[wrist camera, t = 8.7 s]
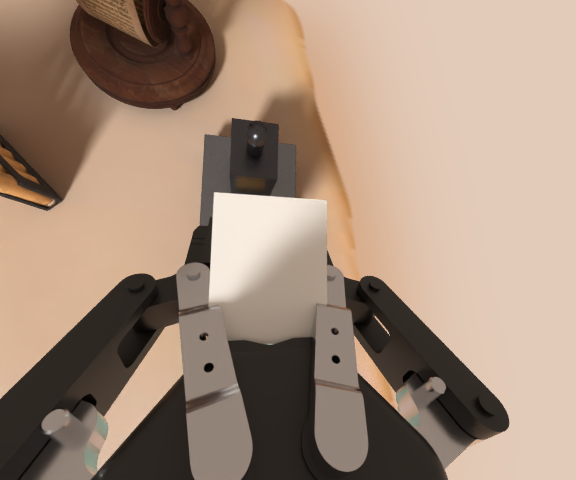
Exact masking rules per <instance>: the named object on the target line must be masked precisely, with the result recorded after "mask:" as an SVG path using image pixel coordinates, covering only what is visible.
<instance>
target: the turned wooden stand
mask: <svg viewBox="0 0 576 480" xmlns="http://www.w3.org/2000/svg"><path fill="white" fill-rule="evenodd" d="M76 1H77V2H78V3H79V6H78V7H77V9H76V11H75V12H74V15H73V17H72V21H71V26H70V41H71V46H72V50H73V52H74V55H75V57H76V59H77V61H78V63H79V64H80V66H81V67H82V69H83V70H84V71H85V73H86V74H87V75H88V77H89V78H90V79H91V80H92V81H93V82H94V84H95V85H96V86H98V87H99V88H100V89H101V90H102V91H104V92H105V93H106V94H108V95H109V96H111V97H113V98H115V99H117V100H119V101H121V102H123V103H126V104H129V105H132V106H136V107H140V108H148V109H162V108H169V107H170V108H171V109H173V110H177V108H178V105H181V104H183V103H185V102H187V101H189V100H191V99H193V98H194V97H195V96H197V95H198V94H199V93H200V92H201V91H202V90H203V89H204V88H205V87H206V85H207V84H208V82H209V81H210V79H211V77H212V74H213V71H214V67H215V46H214V40H213V36H212V33H211V30H210V28H209V26H208V24H207V22H206V20H205V19H204V17H203V16H202V15H201V13H200V12H199V11H198V10H197V9H196V7H194V6H193V5H192V4H191V3H190V2H189V1H188V0H76Z"/></svg>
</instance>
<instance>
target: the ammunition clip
mask: <svg viewBox="0 0 576 480" xmlns="http://www.w3.org/2000/svg"><path fill="white" fill-rule="evenodd" d="M0 195H1V196H2V197H5V198H8V199H12V200H15V201H18V202H21V203H24V204H27V205H30V206H34V207H37V208H40V209H43V210H46V211H48V210H50V209H51V208H53V207H54V206H55V205H57V204H58V203H60V202H61V201H62V198H61V197H60V196H59V195H58V194H57V193H56V192H55V191H54V190H53V189H52V188H51V187H50V186H49V185H48V184H47V183H46V182H45V181H44V180H43V179H42V178H41V177H40V176H39V174H38V173H37V172H36V171H35V170H34V169H33V168H32V167H31V166H30V165H29V164H28V163H27V162H26V161H25V160H24V159H23V158H22V157H21V156H20V155H19V154H18V153H17V152H16V151H15V150H14V149H13V147H12V146H11V145H10V144H9V143H8V142H7V141H6V140H5V139H4V138H3V137H2V136H1V135H0Z"/></svg>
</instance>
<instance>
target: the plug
mask: <svg viewBox="0 0 576 480" xmlns="http://www.w3.org/2000/svg"><path fill="white" fill-rule="evenodd" d="M317 303H320V304H327V200H316V199H302V198H288V197H274V196H260V195H246V194H232V193H218V192H214V203H213V223H212V243H211V264H210V284H209V305H208V306H213V305H219V306H220V310H221V314H222V319H223V323H224V327H225V332H226V336H227V340H228V341H234V340H247V341H252V342H257V343H262V344H276V343H279V342H282V341H285V340H288V339H292V338H302V337H313V330H312V327H313V322H314V316H315V310H316V304H317Z"/></svg>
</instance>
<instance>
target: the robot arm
mask: <svg viewBox="0 0 576 480" xmlns="http://www.w3.org/2000/svg"><path fill="white" fill-rule="evenodd" d="M212 223H213V217H210V219H209V224H208V226H198V227H197V228H196V229H195V230H194V232H193V236H192V239H191V243H190V247H189V250H188V254H187V258H186V261H185V265H184V266H182V267H181V268H180V269H179V270H178V271H177V274H175V275H173V276H171V277H167V278H163V279H159V280H155V279H154V278H153V277H152V276H151V275H148V274H134V275H131V276H128V277H126V278H125V279H123V280H122V281H121V282H120V283H119V284H118V285H117V286H116V287H115V288H114V289H112V290H111V291H110V292H109V293H108V294H107V295H106V296H105V297H104V298H103V299H102V300H101V301H100V302H99V303H98V304H97V305H96V306H95V307H94V308H93V309H92V310H91V311H90V312H89V313H88V314H87V315H86V316H85V317H84V318H83V319H82V320H81V321H80V322H79V323H78V324H77V325H76V326H75V327H74V328H73V329H72V330H71V331H69V332H68V333H67V334H66V335H65V336H64V337H63V338H62V339H61V340H60V341H59V342H58V343H57V344H56V345H55V346H54V347H53V348H52V349H51V350H50V351H49V352H48V353H47V354H46V355H45V356H44V357H43V358H42V359H41V360H40V361H39V362H38V363H37V364H36V365H35V366H34V367H33V368H32V369H31V370H30V371H29V372H28V373H26V374H25V375H24V376H23V377H22V378H21V379H20V380H19V381H18V382H17V383H16V384H15V385H14V386H13V387H12V388H11V389H10V390H9V391H8V392H7V393H6V394H5V395H4V396H3V397H2V398H1V399H0V480H448V478H447V475H446V472H445V470H444V469H445V468H446V467H447V466H448V465H449V464H450V463H451V462H453V461H454V460H455V459H456V458H457V457H458V456H459V455H460V454H461V453H462V452H463V451H464V450H465V449H466V448H467V447H470V446H472V445H474V444H476V443H479V442H481V441H483V440H485V439H488V438H490V437H492V436H494V435H497V434H499V433H501V432H503V431H505V430H506V429H507V428H508V427H509V418H508V414H507V412H506V410H505V408H504V407H503V405H502V404H501V402H500V401H499V400H498V399H497V398H496V397H495V396H494V394H492V392H490V390H489V389H488V388H486V386H485V385H484V384H483V383H482V382H481V381H480V380H479V379H478V378H477V377H476V376H475V375H474V374H473V373H472V372H471V371H470V370H469V369H468V368H467V367H466V366H465V365H464V364H463V363H462V362H461V361H460V360H459V359H458V358H457V357H456V356H455V355H454V353H453V352H452V351H450V350H449V348H448V347H447V346H446V345H445V344H444V343H443V342H442V341H441V340H440V339H439V338H438V337H437V336H436V335H435V334H434V333H433V332H432V331H431V330H430V329H429V328H428V327H427V326H426V325H425V324H424V323H423V322H422V321H421V320H420V319H419V318H418V317H417V316H416V315H415V314H414V313H413V311H411V310H410V308H409V307H408V306H407V305H406V304H405V303H404V302H403V301H402V300H401V299H400V298H399V297H398V296H397V295H396V294H395V293H394V292H393V291H392V290H391V289H390V288H389V287H388V286H387V285H386V284H385V283H384V282H383V281H382V280H380V279H378V278H376V277H373V276H365V277H363V278H362V279H361V281H360V282H359V281H356V280H352V279H348V278H345V277H344V276H343V274H342V272H341V271H340V270H339V269H338V268H336V267H334V266H333V264H332V261H331V259H330V256H329V253H328V251H327V304H320V303H317V304H316V310H315V316H314V322H313V327H312V330H313V337H302V338H292V339H288V340H285V341H282V342H279V343H276V344H272V345H267V344H262V343H257V342H252V341H247V340H234V341H228V340H227V336H226V332H225V327H224V323H223V319H222V314H221V310H220V306H219V305H213V306H208V305H209V284H210V264H211V243H212ZM374 316H376V317H377V318H378V319H379V320H380V322H381V323H382V324H383V325H384V326H385V328H386V329H387V330H388V332H389V334H390V336H389V334H388V333H387V332H386V331H385V330H384V328H383V327H382V326H381V325H380V323H379V322H378V321H377V320H376V319H375V317H374ZM176 323H179V326H180V338H181V350H182V362H183V373H184V374H183V375H182V376H181V377H180V378H179V380H178V381H177V382H176V383H175V384H174V385H173V386H172V388H171V389H170V390H169V391H168V392H167V393H166V394H165V396H164V397H163V398H162V399H161V400H160V401H159V402H158V403H157V405H156V406H155V407H154V408H153V409H152V410H151V411H150V413H149V414H148V415H147V416H146V417H145V418H144V419H143V421H142V422H141V423H140V424H139V425H138V426H137V427H136V428H135V430H134V431H133V432H132V433H131V434H130V435H129V436H128V438H127V439H126V440H125V441H124V442H123V443H122V444H121V446H120V447H119V448H118V449H117V450H116V451H115V452H114V453H113V455H112V456H111V457H110V458H109V459H108V460H107V461H106V463H105V464H104V465H103V466H102V467H101V468H100V469H99V471H97V460H98V455H99V453H100V450H101V448H102V446H103V444H104V442H105V440H106V437H107V433H108V423H107V421H106V419H105V418H104V416H105V414H106V413H107V411H108V410H109V408H110V407H111V405H112V404H113V403H114V401H115V400H116V398H117V397H118V395H119V394H120V392H121V391H122V389H123V388H124V386H125V385H126V384H127V382H128V381H129V379H130V378H131V376H132V375H133V373H134V372H135V370H136V369H137V367H138V366H139V364H140V363H141V362H142V360H143V359H144V357H145V356H146V354H147V353H148V351H149V350H150V348H151V347H152V345H153V344H154V343H155V341H156V340H157V338H158V337H159V335H160V334H161V332H162V331H163V329H164V328H165V327H166V326H169V325H173V324H176ZM354 335H355V337H356V338H357V339H358V341H359V342H360V344H361V345H362V346H363V348H364V349H365V351H366V352H367V353H368V355H369V356H370V357H371V359H372V360H373V362H374V363H375V364H376V366H377V367H378V369H379V370H380V371H381V373H382V374H383V376H384V377H385V378H386V380H387V381H388V382H389V384H390V385H391V387H392V388H393V389H394V391H395V392H396V401H397V404H398V411H397V410H395V409H394V408H393V407H392V406H391V405H390V404H389V403H388V402H387V401H386V400H385V399H384V398H383V397H382V396H381V395H380V394H379V393H378V392H377V391H376V390H375V389H374V388H373V387H372V386H371V385H370V384H369V383H368V382H367V381H366V380H365V379H364V378H363V377H362V376H361V375H360V374H358V373H357V364H356V354H355V343H354Z"/></svg>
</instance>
